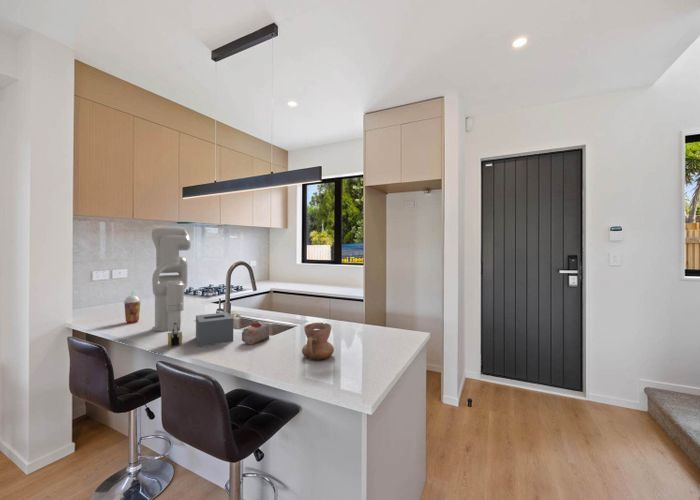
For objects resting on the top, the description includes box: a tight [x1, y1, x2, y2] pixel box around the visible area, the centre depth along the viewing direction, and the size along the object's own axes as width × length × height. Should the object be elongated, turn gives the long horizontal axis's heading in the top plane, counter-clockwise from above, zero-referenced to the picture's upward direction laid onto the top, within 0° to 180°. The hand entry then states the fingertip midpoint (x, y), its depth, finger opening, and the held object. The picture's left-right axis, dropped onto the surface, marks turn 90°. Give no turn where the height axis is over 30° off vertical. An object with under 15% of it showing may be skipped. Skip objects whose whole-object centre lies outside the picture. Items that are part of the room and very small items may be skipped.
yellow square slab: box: [167, 330, 183, 347], centre depth 150 cm, size 2×6×6 cm, turn 123°
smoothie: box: [123, 290, 141, 324], centre depth 190 cm, size 8×8×20 cm
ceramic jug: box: [301, 322, 335, 361], centre depth 136 cm, size 18×14×14 cm
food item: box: [241, 322, 270, 346], centre depth 157 cm, size 14×8×10 cm, turn 153°
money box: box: [195, 312, 234, 347], centre depth 159 cm, size 16×16×12 cm
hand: (174, 343), depth 150 cm, fingers open, 5 cm apart
